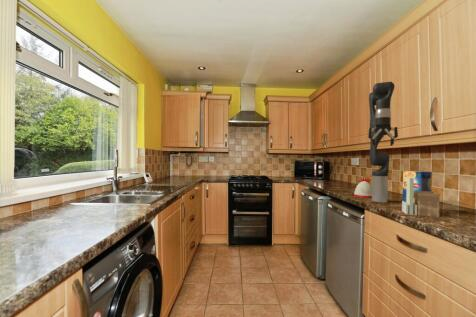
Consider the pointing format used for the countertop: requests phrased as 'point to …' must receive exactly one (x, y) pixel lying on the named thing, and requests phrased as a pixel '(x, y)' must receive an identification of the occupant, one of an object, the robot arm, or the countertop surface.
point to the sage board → (410, 195)
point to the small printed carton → (405, 208)
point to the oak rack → (426, 203)
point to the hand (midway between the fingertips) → (382, 145)
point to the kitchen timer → (363, 189)
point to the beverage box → (417, 181)
